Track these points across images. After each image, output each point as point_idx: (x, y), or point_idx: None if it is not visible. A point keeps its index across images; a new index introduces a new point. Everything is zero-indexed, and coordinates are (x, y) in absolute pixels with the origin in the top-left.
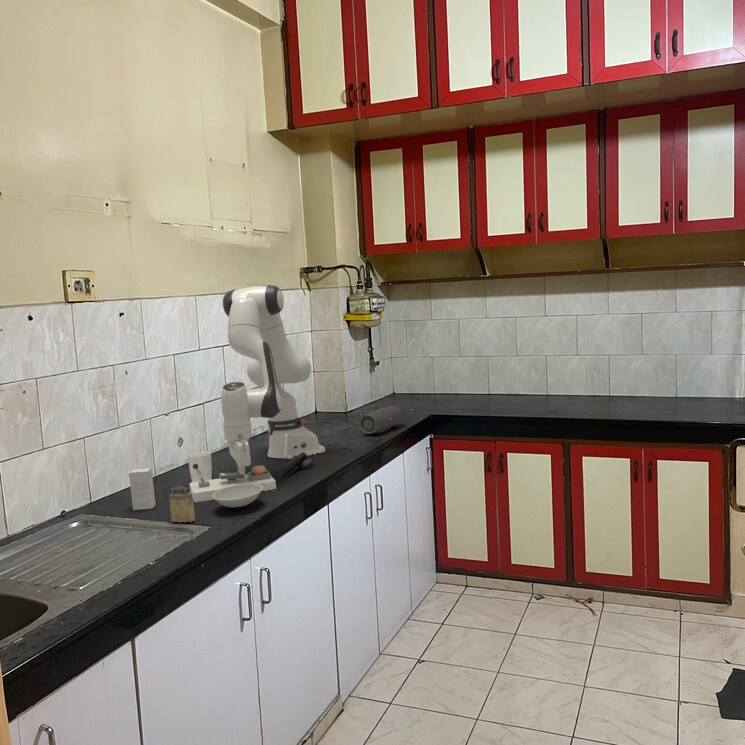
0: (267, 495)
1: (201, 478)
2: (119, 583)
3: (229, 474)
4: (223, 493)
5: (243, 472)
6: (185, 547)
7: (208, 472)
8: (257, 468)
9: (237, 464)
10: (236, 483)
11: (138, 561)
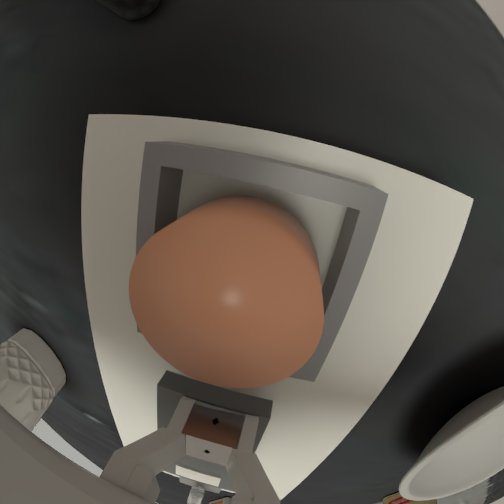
0: (478, 285)
1: (200, 502)
2: (490, 492)
3: (205, 460)
4: (416, 478)
5: (253, 435)
6: (500, 470)
7: (32, 375)
8: (282, 356)
9: (155, 474)
10: (275, 418)
11: (472, 495)
